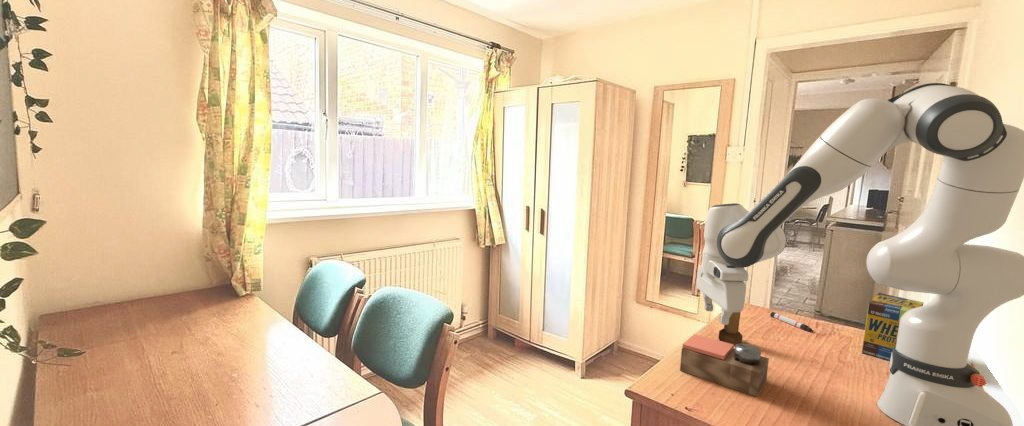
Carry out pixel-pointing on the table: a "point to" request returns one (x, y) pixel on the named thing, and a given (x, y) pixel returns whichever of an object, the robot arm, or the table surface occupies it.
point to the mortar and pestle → (731, 330)
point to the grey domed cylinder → (747, 354)
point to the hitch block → (726, 371)
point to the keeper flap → (708, 346)
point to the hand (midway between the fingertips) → (715, 316)
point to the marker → (791, 321)
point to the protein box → (884, 324)
